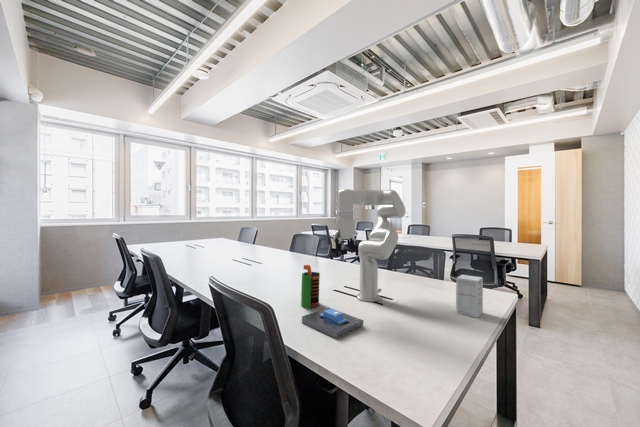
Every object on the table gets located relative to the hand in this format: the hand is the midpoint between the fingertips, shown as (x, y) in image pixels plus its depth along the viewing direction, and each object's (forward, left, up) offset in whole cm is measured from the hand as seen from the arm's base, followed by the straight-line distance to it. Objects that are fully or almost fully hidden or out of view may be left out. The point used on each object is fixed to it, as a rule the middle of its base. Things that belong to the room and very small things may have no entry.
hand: (345, 250), depth 133 cm
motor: (+9, -15, -28) cm, 33 cm away
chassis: (+18, +9, -28) cm, 35 cm away
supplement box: (-40, +43, -28) cm, 65 cm away
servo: (+18, +9, -28) cm, 35 cm away
